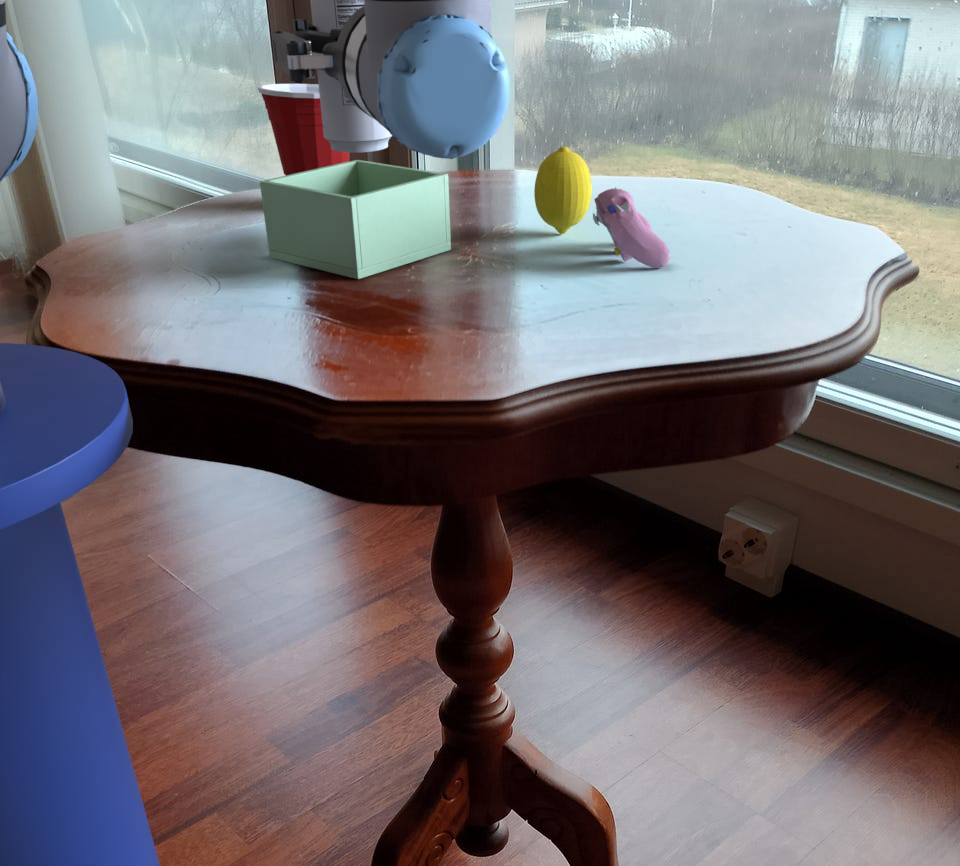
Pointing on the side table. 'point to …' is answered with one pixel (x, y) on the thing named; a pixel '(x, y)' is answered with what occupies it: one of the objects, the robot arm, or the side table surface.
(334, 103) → the energy drink can
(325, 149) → the plastic cup
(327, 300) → the side table surface
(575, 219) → the lemon
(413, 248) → the bin
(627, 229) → the pink toy bird
